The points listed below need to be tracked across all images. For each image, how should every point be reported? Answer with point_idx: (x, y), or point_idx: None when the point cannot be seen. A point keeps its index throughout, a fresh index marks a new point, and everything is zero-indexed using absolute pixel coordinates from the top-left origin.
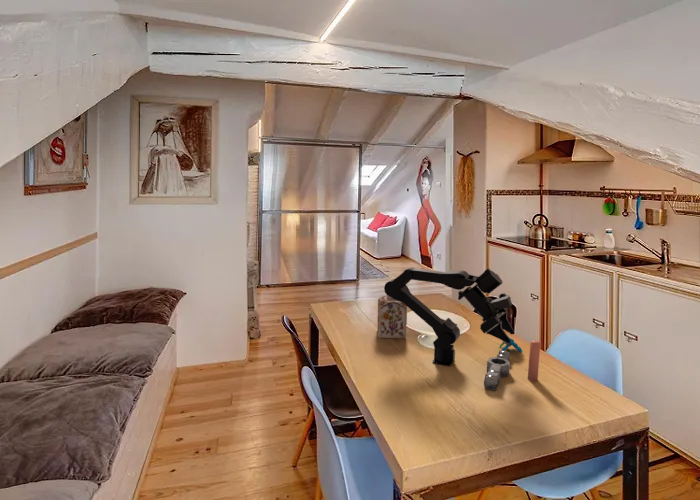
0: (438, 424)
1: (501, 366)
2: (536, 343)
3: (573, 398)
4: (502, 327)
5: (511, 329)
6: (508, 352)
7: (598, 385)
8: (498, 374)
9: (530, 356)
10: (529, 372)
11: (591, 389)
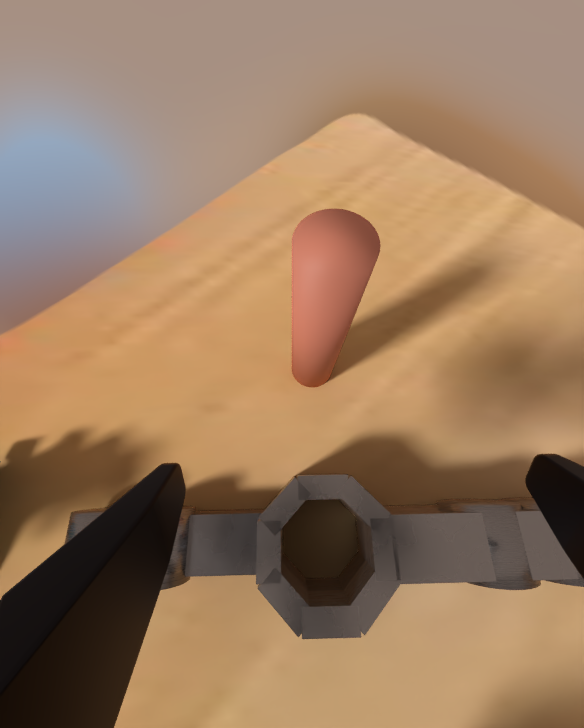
0: None
1: (391, 514)
2: (375, 230)
3: (392, 238)
4: (104, 725)
5: (155, 514)
6: (88, 520)
7: (244, 183)
8: (519, 507)
9: (345, 332)
10: (331, 369)
11: (288, 198)
